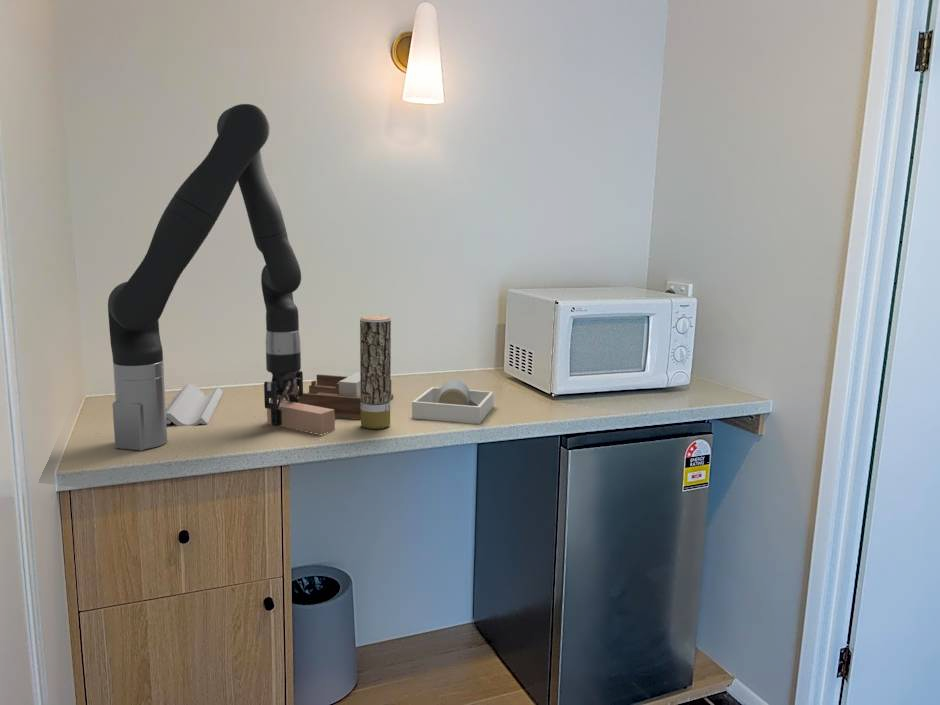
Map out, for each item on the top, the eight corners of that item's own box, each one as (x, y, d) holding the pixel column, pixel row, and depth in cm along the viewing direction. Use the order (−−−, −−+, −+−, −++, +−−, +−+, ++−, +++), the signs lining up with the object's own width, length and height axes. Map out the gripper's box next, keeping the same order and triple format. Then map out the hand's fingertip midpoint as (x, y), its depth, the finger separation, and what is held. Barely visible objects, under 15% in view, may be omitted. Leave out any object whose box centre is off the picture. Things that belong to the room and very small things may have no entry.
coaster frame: (479, 423, 169) (480, 407, 169) (411, 418, 173) (412, 401, 172) (493, 406, 185) (493, 391, 185) (431, 401, 189) (431, 387, 188)
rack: (362, 419, 171) (362, 398, 170) (277, 411, 176) (277, 391, 175) (393, 398, 192) (393, 379, 191) (316, 392, 197) (316, 374, 196)
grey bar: (356, 403, 174) (356, 382, 173) (339, 401, 175) (338, 381, 174) (379, 388, 189) (379, 370, 188) (363, 387, 190) (363, 369, 189)
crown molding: (207, 427, 164) (206, 412, 163) (150, 430, 161) (149, 414, 161) (222, 394, 194) (222, 381, 193) (175, 396, 191) (174, 383, 191)
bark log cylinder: (362, 430, 162) (362, 320, 157) (358, 422, 168) (358, 316, 164) (392, 429, 163) (393, 319, 159) (387, 421, 170) (387, 315, 165)
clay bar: (334, 431, 162) (334, 409, 161) (321, 436, 158) (321, 414, 157) (281, 420, 169) (280, 399, 169) (267, 424, 166) (266, 403, 165)
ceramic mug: (437, 416, 175) (438, 385, 173) (439, 408, 183) (440, 378, 181) (481, 418, 175) (482, 387, 173) (481, 410, 183) (482, 380, 181)
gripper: (283, 356, 154) (285, 431, 157) (312, 345, 168) (314, 414, 170) (251, 354, 155) (254, 428, 158) (283, 344, 169) (284, 411, 172)
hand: (285, 420), depth 164 cm, fingers open, 7 cm apart
